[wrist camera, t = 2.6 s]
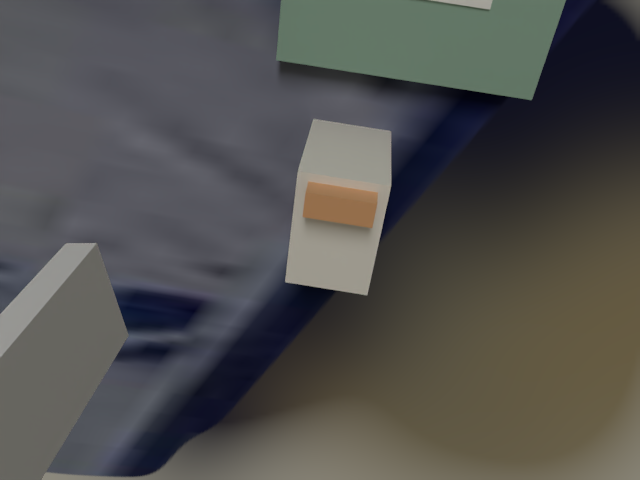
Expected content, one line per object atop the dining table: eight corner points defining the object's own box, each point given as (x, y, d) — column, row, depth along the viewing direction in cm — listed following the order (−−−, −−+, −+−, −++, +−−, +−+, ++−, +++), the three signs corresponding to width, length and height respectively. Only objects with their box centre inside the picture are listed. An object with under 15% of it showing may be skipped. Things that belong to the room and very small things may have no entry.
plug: (300, 218, 33) (281, 295, 27) (313, 118, 30) (294, 182, 24) (370, 229, 33) (366, 308, 27) (390, 130, 30) (390, 197, 24)
